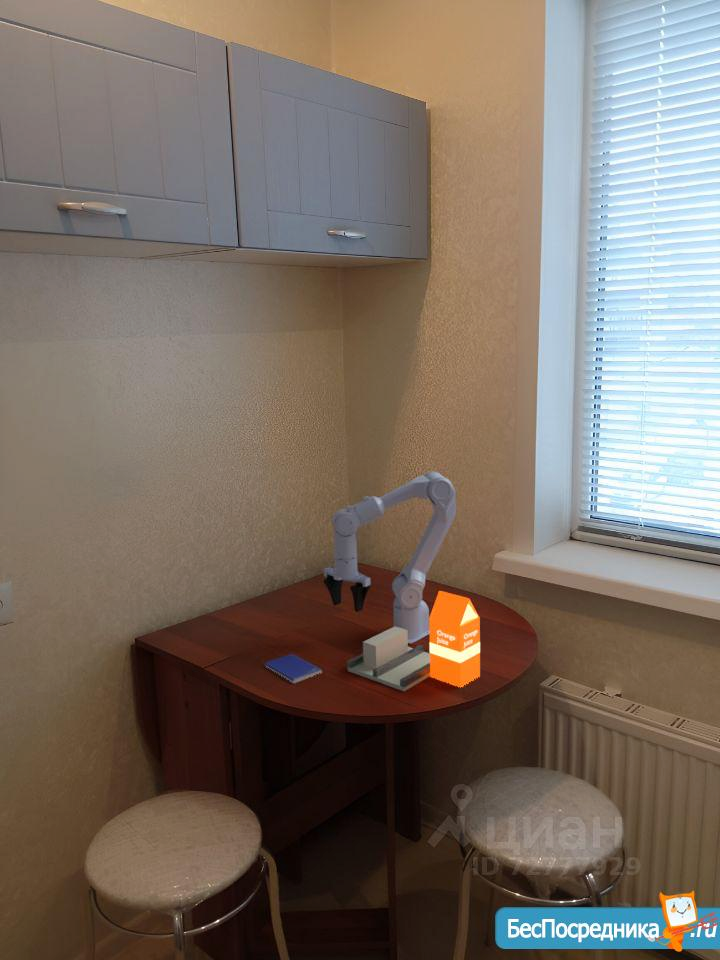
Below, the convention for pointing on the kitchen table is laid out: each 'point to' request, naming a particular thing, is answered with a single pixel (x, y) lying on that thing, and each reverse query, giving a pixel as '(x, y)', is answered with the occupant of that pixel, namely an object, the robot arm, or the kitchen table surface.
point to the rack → (396, 669)
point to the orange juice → (454, 640)
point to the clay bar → (385, 647)
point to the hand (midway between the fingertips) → (347, 607)
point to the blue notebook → (293, 668)
